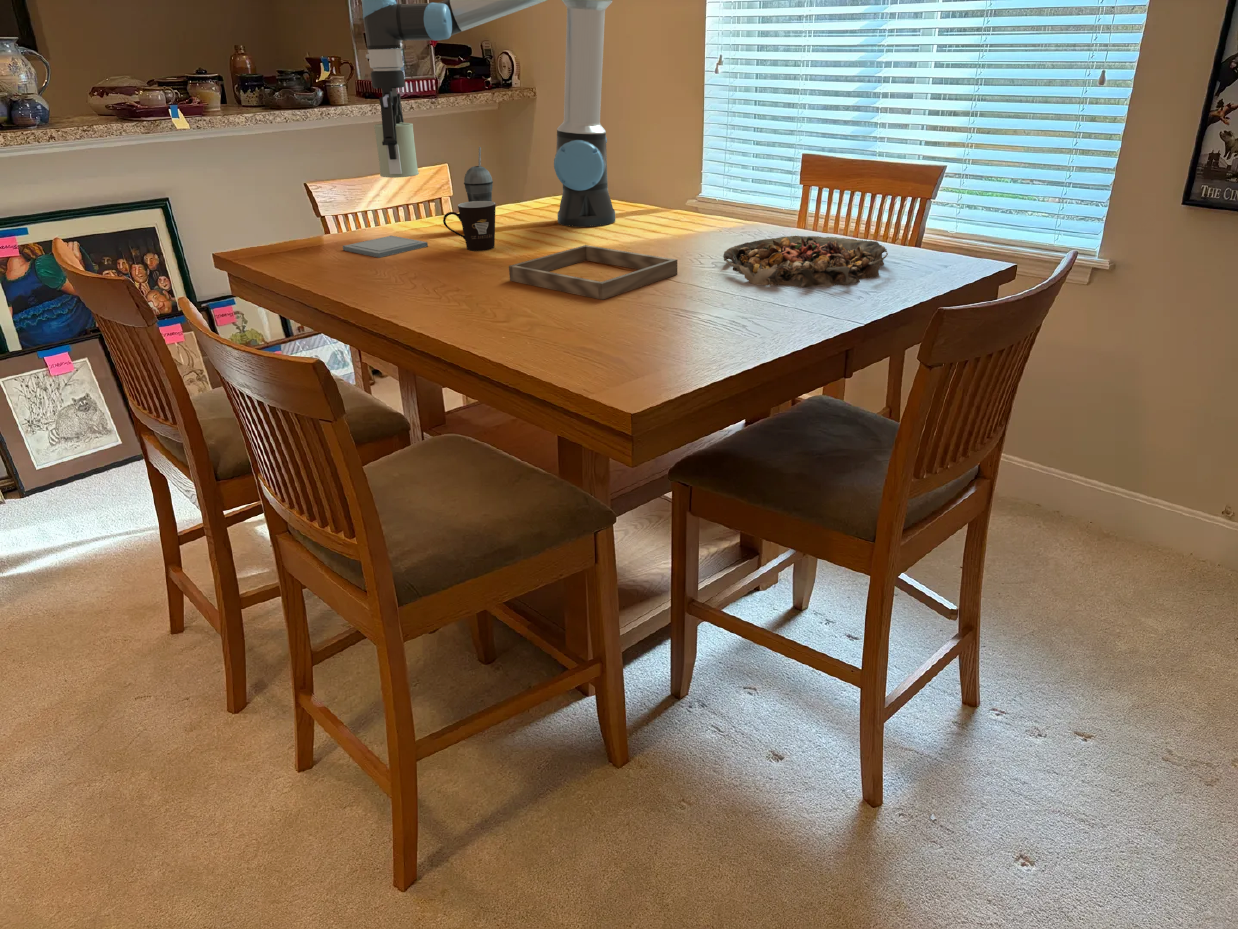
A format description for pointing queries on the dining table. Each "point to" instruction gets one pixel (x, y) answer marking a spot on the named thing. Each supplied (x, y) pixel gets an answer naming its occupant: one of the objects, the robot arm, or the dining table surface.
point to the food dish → (807, 261)
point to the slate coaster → (385, 246)
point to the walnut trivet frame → (539, 276)
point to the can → (405, 151)
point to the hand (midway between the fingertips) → (399, 170)
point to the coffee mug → (476, 224)
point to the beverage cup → (478, 183)
